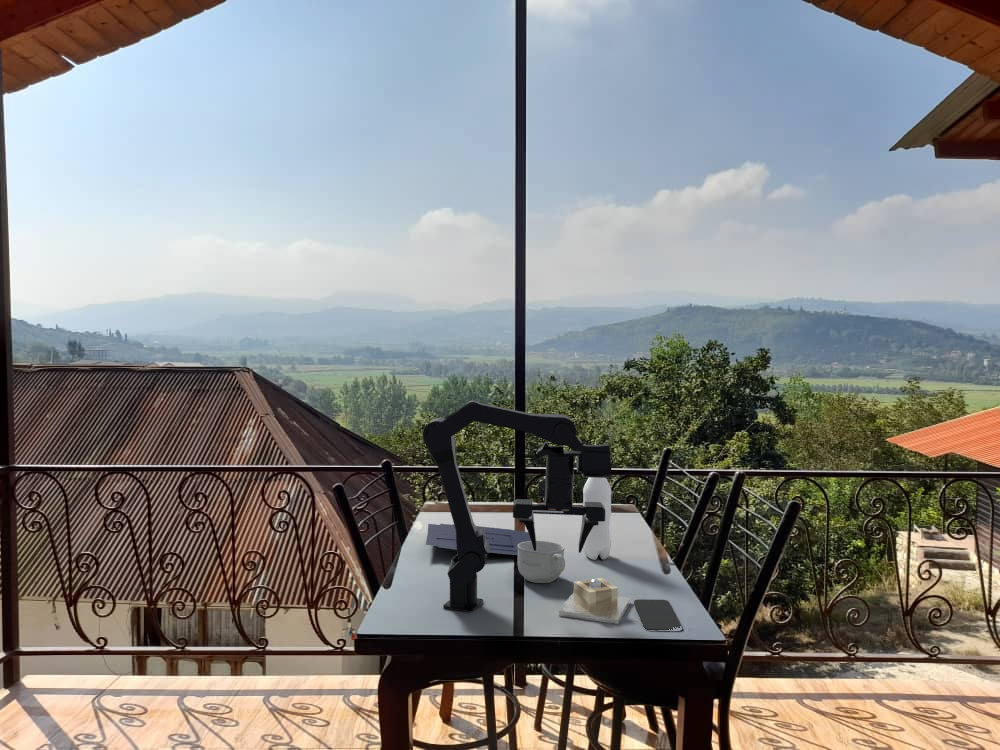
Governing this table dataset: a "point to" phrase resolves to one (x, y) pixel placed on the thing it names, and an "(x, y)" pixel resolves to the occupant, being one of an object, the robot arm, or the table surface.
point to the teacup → (540, 561)
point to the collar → (595, 595)
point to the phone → (656, 614)
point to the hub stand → (605, 615)
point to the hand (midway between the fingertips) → (557, 551)
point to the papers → (496, 537)
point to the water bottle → (599, 534)
